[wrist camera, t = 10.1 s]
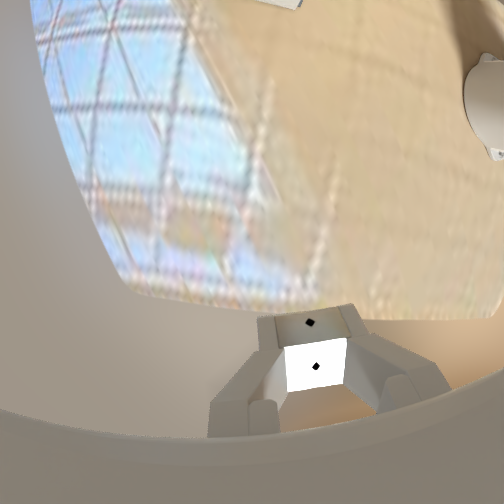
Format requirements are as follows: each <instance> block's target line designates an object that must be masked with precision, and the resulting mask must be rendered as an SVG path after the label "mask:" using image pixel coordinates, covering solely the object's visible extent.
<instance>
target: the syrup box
mask: <svg viewBox="0 0 504 504" xmlns="http://www.w3.org/2000/svg"><path fill="white" fill-rule="evenodd" d="M256 1H261V2H265V3H269V4H273V5H277V6H281V7H285V8H289V9H292V10H295V9H296V8H297V6H298V4H299V2H300V1H301V0H256Z"/></svg>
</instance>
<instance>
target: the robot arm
mask: <svg viewBox="0 0 504 504" xmlns="http://www.w3.org/2000/svg"><path fill="white" fill-rule="evenodd" d="M464 102H465V108H466V113H467V116H468V120H469V122H470V125H471V127H472V129H473V131H474V132H475V134H476V135H477V137H478V138H479V139H480V140H481V141H482V142H483V144H484V145H485V147H486V149H487V152H488V154H489V157H490V158H491V160H494V161H499V160H503V159H504V60H499V59H498V58H496V57H495V56H493V55H491V54H490V53H483V54H482V55H481V57H480V60H479V63H478V64H477V65H476V66H475V67H473V68H472V69H471V70H470V72H469V74H468V76H467V78H466V81H465V87H464ZM257 326H258V339H259V351H256V352H254V353H253V354H252V355H251V356H250V358H249V359H248V360H247V361H246V362H245V363H244V365H243V366H242V367H241V368H240V369H239V371H238V372H237V373H236V374H235V375H234V377H232V379H231V380H230V381H229V382H228V383H227V384H226V386H225V387H224V388H223V389H222V390H221V391H220V392H219V393H218V395H217V396H216V397H215V398H214V399H213V400H212V401H211V403H210V413H209V424H208V436H207V438H171V437H150V436H137V435H126V434H116V433H108V432H100V431H93V430H86V429H81V428H75V427H70V426H65V425H59V424H55V423H50V422H46V421H41V420H38V419H33V418H30V417H26V416H22V415H19V414H15V413H12V412H8V411H5V410H2V409H0V504H504V367H503V368H501V369H499V370H497V371H495V372H493V373H491V374H489V375H487V376H484V377H482V378H480V379H478V380H475V381H473V382H471V383H469V384H466V385H464V386H461V387H459V388H456V389H454V390H452V389H451V388H450V386H449V384H448V382H447V381H446V379H445V378H444V376H443V374H442V373H441V371H440V370H439V368H438V367H437V365H436V363H434V362H432V361H430V360H428V359H426V358H424V357H422V356H420V355H418V354H416V353H414V352H411V351H409V350H407V349H405V348H403V347H401V346H399V345H397V344H395V343H393V342H391V341H389V340H387V339H385V338H383V337H381V336H379V335H377V334H375V333H372V334H370V333H369V331H368V330H367V328H366V326H365V324H364V322H363V320H362V319H361V317H360V315H359V313H358V311H357V310H356V308H355V306H354V304H352V303H350V304H345V305H340V306H336V307H331V308H325V309H319V310H312V311H303V312H294V313H285V314H276V315H268V316H259V317H257ZM338 383H343V385H345V386H346V387H347V388H348V389H349V390H351V391H352V392H353V393H354V394H355V395H357V396H358V397H359V398H360V399H362V400H363V401H364V402H365V403H366V404H368V405H369V406H371V408H373V409H374V410H375V411H376V412H377V413H376V415H373V416H370V417H366V418H361V419H357V420H353V421H348V422H343V423H338V424H333V425H328V426H323V427H317V428H311V429H305V430H298V431H290V432H283V433H281V432H280V424H279V416H278V410H279V409H280V407H281V405H282V403H283V402H284V400H285V398H286V396H287V394H288V392H289V391H295V390H301V389H306V388H312V387H318V386H325V385H331V384H338Z"/></svg>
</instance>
